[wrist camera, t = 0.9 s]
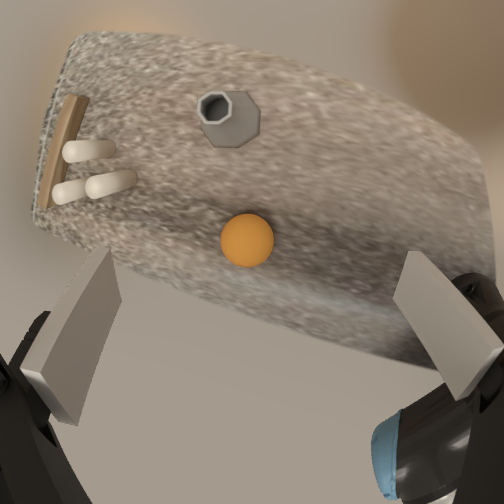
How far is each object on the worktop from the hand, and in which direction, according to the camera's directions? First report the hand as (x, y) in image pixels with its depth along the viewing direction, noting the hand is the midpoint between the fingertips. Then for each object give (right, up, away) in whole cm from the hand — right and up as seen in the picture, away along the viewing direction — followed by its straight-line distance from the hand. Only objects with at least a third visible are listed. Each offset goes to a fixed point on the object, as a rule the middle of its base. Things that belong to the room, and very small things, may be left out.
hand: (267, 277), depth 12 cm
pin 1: (-19, +14, +22) cm, 32 cm away
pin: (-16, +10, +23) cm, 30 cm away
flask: (-3, +17, +20) cm, 26 cm away
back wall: (-27, +15, +22) cm, 38 cm away
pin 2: (-21, +10, +23) cm, 33 cm away
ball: (-1, +2, +21) cm, 22 cm away
